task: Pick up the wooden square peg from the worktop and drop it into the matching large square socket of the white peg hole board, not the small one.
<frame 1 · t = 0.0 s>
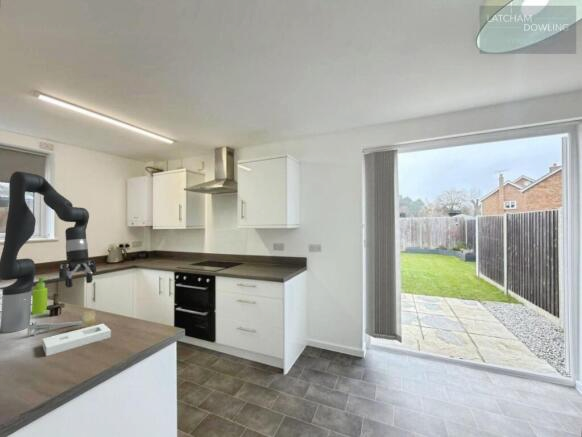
hand: (79, 284, 108), 22 cm above the counter, tool pointing down, fingers open, 8 cm apart
industrial component: (55, 314, 132), on the counter
soap dispenser: (40, 312, 135), on the counter
white peg hole board: (77, 341, 101), on the counter
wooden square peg: (88, 328, 114), on the counter
caliper: (59, 330, 113), on the counter
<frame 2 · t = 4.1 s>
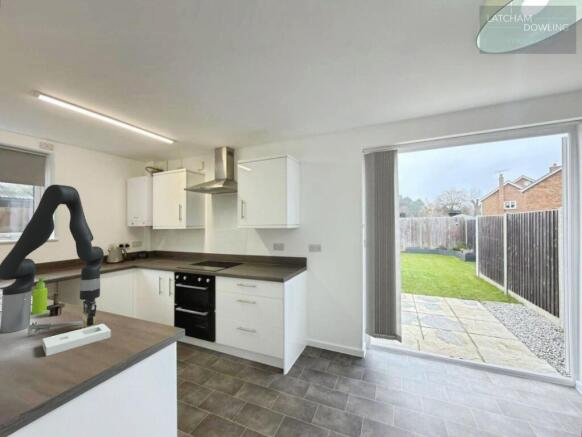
hand: (88, 323, 114), 2 cm above the counter, tool pointing down, fingers closed on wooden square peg, 4 cm apart
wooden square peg: (88, 328, 114), on the counter, touching gripper
everything else where it was.
when the fingers open (4 cm above the counter, at t = 8.8 s): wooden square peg drops 2 cm, resting in white peg hole board.
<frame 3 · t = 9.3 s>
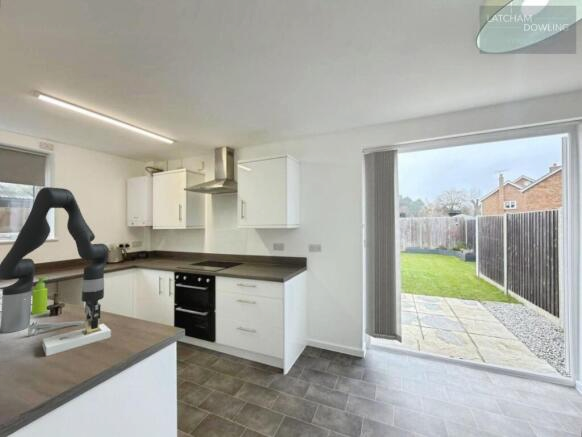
hand: (91, 325, 104), 5 cm above the counter, tool pointing down, fingers open, 8 cm apart
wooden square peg: (91, 337, 104), resting in white peg hole board
everything else where it was.
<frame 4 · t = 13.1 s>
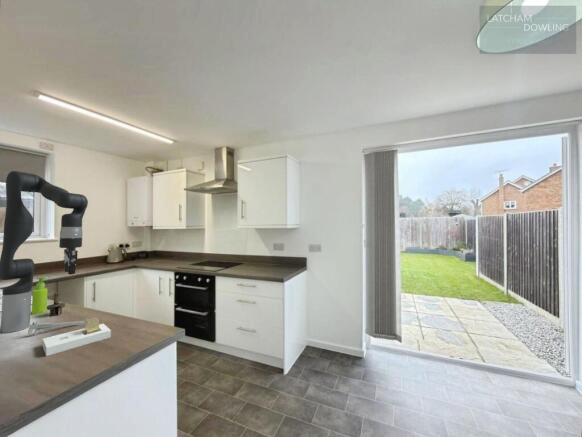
hand: (69, 272, 107), 28 cm above the counter, tool pointing down, fingers open, 8 cm apart
nothing on the counter moved.
at the end: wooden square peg 0.1 cm from the target spot, resting in white peg hole board; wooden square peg tilted 0°; the gripper is holding nothing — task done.
